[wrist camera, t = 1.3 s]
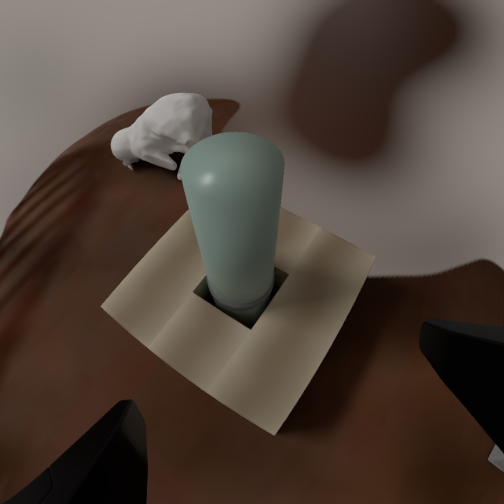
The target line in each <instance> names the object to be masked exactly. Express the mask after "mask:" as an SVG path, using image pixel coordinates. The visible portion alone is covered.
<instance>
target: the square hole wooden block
mask: <svg viewBox="0 0 504 504" xmlns="http://www.w3.org/2000/svg"><path fill="white" fill-rule="evenodd" d="M375 258H376V257H375V256H373V255H371V254H370V253H368V252H366V251H364V250H362V249H361V248H359V247H357V246H355V245H353V244H351V243H349V242H347V241H345V240H344V239H342V238H340V237H338V236H336V235H334V234H332V233H330V232H329V231H327V230H325V229H323V228H321V227H319V226H317V225H315V224H313V223H311V222H309V221H307V220H305V219H303V218H301V217H299V216H297V215H295V214H293V213H291V212H289V211H287V210H285V209H283V208H281V207H280V215H279V225H278V234H277V244H276V253H275V262H274V275H275V276H274V285H273V289H272V292H274V293H275V294H276V295H275V296H274V298H273V299H272V301H271V302H270V304H269V305H268V307H267V308H266V309H265V311H264V312H263V314H262V315H261V317H260V318H259V319H258V321H257V322H256V324H255V325H254V327H253V328H252V329H251V330H250V329H248V328H247V327H245V326H244V325H242V324H241V323H239V322H237V321H236V320H234V319H233V318H231V317H229V316H228V315H226V314H225V313H223V312H222V311H220V310H219V309H217V308H216V307H214V306H212V305H211V304H210V302H211V301H212V300H213V299H214V298H213V296H212V295H211V293H210V290H209V287H208V283H207V274H206V270H205V267H204V263H203V260H202V256H201V252H200V249H199V245H198V241H197V237H196V234H195V230H194V226H193V222H192V218H191V214H190V210H188V211H187V212H186V213H185V214H184V215H183V216H182V217H181V218H180V219H179V220H178V221H177V222H176V223H175V224H174V225H173V226H172V227H171V228H170V229H169V230H168V231H167V233H166V234H165V235H164V236H163V237H162V238H161V239H160V240H159V241H158V242H157V243H156V244H155V245H154V246H153V248H152V249H151V250H150V251H149V252H148V253H147V254H146V255H145V256H144V257H143V258H142V260H141V261H140V262H139V263H138V264H137V265H136V266H135V267H134V268H133V270H132V271H131V272H130V273H129V274H128V275H127V276H126V277H125V279H124V280H123V281H122V282H121V283H120V284H119V286H118V287H117V288H116V289H115V290H114V291H113V292H112V294H111V295H110V296H109V297H108V298H107V299H106V301H105V302H104V303H103V304H102V305H101V307H102V308H103V309H104V310H105V311H106V312H107V313H108V314H109V315H110V316H111V317H112V318H114V319H115V320H116V321H117V322H118V323H119V324H120V325H121V326H122V327H124V328H125V329H126V330H127V331H128V332H129V333H130V334H132V335H133V336H134V337H135V338H136V339H138V340H139V341H140V342H141V343H142V344H144V345H145V346H146V347H147V348H148V349H150V350H151V351H152V352H153V353H155V354H156V355H157V356H158V357H160V358H161V359H162V360H163V361H165V362H166V363H167V364H168V365H170V366H171V367H172V368H174V369H175V370H176V371H178V372H179V373H180V374H182V375H183V376H184V377H186V378H187V379H188V380H190V381H191V382H192V383H194V384H195V385H197V386H198V387H199V388H201V389H202V390H204V391H205V392H207V393H208V394H209V395H211V396H212V397H214V398H215V399H217V400H218V401H220V402H221V403H223V404H224V405H226V406H227V407H229V408H230V409H232V410H233V411H235V412H236V413H238V414H240V415H241V416H243V417H244V418H246V419H247V420H249V421H251V422H252V423H254V424H256V425H257V426H259V427H261V428H262V429H264V430H266V431H267V432H269V433H271V434H273V435H275V434H276V433H277V431H278V430H279V428H280V427H281V425H282V424H283V422H284V421H285V420H286V418H287V417H288V415H289V414H290V412H291V410H292V409H293V407H294V406H295V404H296V403H297V401H298V400H299V398H300V397H301V395H302V393H303V392H304V390H305V389H306V387H307V385H308V384H309V382H310V381H311V379H312V377H313V376H314V374H315V372H316V371H317V369H318V367H319V366H320V364H321V362H322V360H323V359H324V357H325V355H326V354H327V352H328V350H329V348H330V347H331V345H332V343H333V341H334V339H335V338H336V336H337V334H338V332H339V330H340V328H341V327H342V325H343V323H344V321H345V319H346V317H347V315H348V313H349V312H350V310H351V308H352V306H353V304H354V302H355V300H356V298H357V296H358V294H359V292H360V290H361V288H362V286H363V284H364V282H365V280H366V278H367V275H368V273H369V271H370V269H371V267H372V265H373V263H374V260H375Z"/></svg>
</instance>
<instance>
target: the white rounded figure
mask: <svg viewBox="0 0 504 504" xmlns="http://www.w3.org/2000/svg"><path fill="white" fill-rule="evenodd" d="M211 117H212V109H211V108H210V107H209V104H208V101H207V100H206V99H205V98H204V97H203V96H202V95H200V94H191V93H175V94H170V95H167V96H164V97H162V98H160V99H159V100H158V101H157V102H155V103H154V104H153V105H152V106H150V107H149V108H147V109H146V111H145V112H144V113H143V114H142V115H141V116H140V117H139V118H138V119H137V120H136V122H135V123H134V124H132V125H131V126H130V127H129V128H125V129H122V130H120V131H118V132H117V133H116V134H115V135H114V137H113V138H112V142H111V149H112V152H113V154H114V156H115V157H116V158H118V159H120V160H122V161H124V162H123V163H125V164H124V165H125V166H126V165H128V168H129V166H130V168H131V164H132V163H134V162H138V161H139V160H140V159H141V160H146V161H147V162H150V163H152V164H155V165H158V166H161V167H163V168H166V169H169V170H176V168H177V164H176V163H175V162H174V161H173V160H172V159H171V158H170V157H169V156H168V155H169V154H172V153H174V151H175V152H182V153H185V154H186V152H187V151H188V150H189V149H190V148H191V147H192V146H193V145H195V144H196V143H197V142H199V141H201V140H203V139H205V138H207V137H210V136H212V129H211V122H212V119H211ZM131 169H132V168H131ZM129 170H130V169H129ZM177 178H178V179H179V180H182V178H181V173H180V168H179V171H178V175H177Z"/></svg>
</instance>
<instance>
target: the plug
mask: <svg viewBox="0 0 504 504" xmlns="http://www.w3.org/2000/svg"><path fill="white" fill-rule="evenodd" d="M180 173H181V178H182V182H183V186H184V190H185V194H186V198H187V202H188V206H189V210H190V214H191V218H192V222H193V226H194V230H195V234H196V237H197V241H198V245H199V249H200V252H201V256H202V260H203V263H204V267H205V270H206V274H207V283H208V287H209V290H210V293H211V295H212V296H213V298H214V302H215V305H216V308H217V309H219V310H220V311H222V312H223V313H225V314H226V315H228V316H229V317H231V318H233V319H234V320H236V321H237V322H239V323H241V324H242V325H244V326H245V327H247V328H248V329H252V328H253V327H254V325H255V324H256V322H257V321H258V319H259V318H260V317H261V315H262V314H263V312H264V311H265V309H266V308H267V307H268V305H269V304H270V297H271V292H272V289H273V285H274V276H275V275H274V262H275V253H276V244H277V234H278V225H279V215H280V204H281V195H282V194H281V193H282V185H283V174H284V158H283V155H282V153H281V151H280V150H279V149H278V148H277V147H276V146H275V145H274V144H273V143H272V142H270V141H269V140H267V139H265V138H263V137H261V136H258V135H255V134H251V133H244V132H227V133H221V134H216V135H213V136H210V137H207V138H205V139H203V140H201V141H199V142H197V143H196V144H195V145H193V146H192V147H191V148H190V149H189V150H188V151H187V152H186V154H185V155H184V157H183V159H182V161H181V165H180Z"/></svg>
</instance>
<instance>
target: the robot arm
mask: <svg viewBox="0 0 504 504" xmlns="http://www.w3.org/2000/svg"><path fill="white" fill-rule="evenodd" d="M419 347H420V350H421V352H422V353H423V354H424V356H425V357H426V359H427V360H428V361H429V363H430V364H431V366H432V367H433V368H434V370H435V371H436V373H437V374H438V375H439V377H440V378H441V380H442V381H443V382H444V383H445V385H446V386H447V387H448V388H449V389H450V390H451V391H452V393H453V394H454V395H455V396H456V397H457V398H458V400H459V401H460V402H461V403H462V404H463V405H464V407H465V408H466V409H467V410H468V411H469V412H470V414H471V415H472V416H473V417H474V418H475V420H476V421H477V422H478V423H479V424H480V426H481V427H482V428H483V429H484V430H485V432H486V433H487V434H488V435H489V437H490V438H491V439H492V440H493V441H494V443H495V444H496V445H497V446H498V448H499V449H500V450H501V451H502V453H503V454H504V326H495V325H485V324H476V323H467V322H459V321H450V320H442V319H434V318H431V319H429V320H426V321H424V322H422V324H421V326H420V338H419ZM147 478H148V461H147V444H146V425H145V421H144V419H143V417H142V415H141V413H140V411H139V409H138V407H137V405H136V403H135V401H134V400H132V399H129V400H121V401H119V402H118V403H117V404H116V405H115V406H114V407H112V408H111V409H110V410H109V411H108V412H107V413H106V414H105V415H104V416H103V417H102V418H101V419H100V420H99V421H98V422H97V423H95V424H94V425H93V426H92V427H91V428H90V429H89V430H88V431H87V432H86V433H85V434H84V435H83V436H81V437H80V438H79V439H78V440H77V441H76V442H75V443H74V444H73V445H72V446H71V447H70V448H69V449H67V450H66V451H65V452H64V453H63V454H62V455H61V456H60V457H59V458H58V459H57V460H55V461H54V462H53V463H52V464H51V465H50V468H49V467H48V468H47V469H46V470H44V471H43V472H42V473H41V474H40V475H39V476H38V477H37V478H35V479H34V480H33V481H32V482H31V483H30V484H28V485H27V486H26V487H24V488H23V489H22V490H20V491H19V492H18V493H16V494H15V495H14V496H12V497H11V498H9V499H8V500H7V501H5V502H4V503H2V504H146V500H147Z"/></svg>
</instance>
